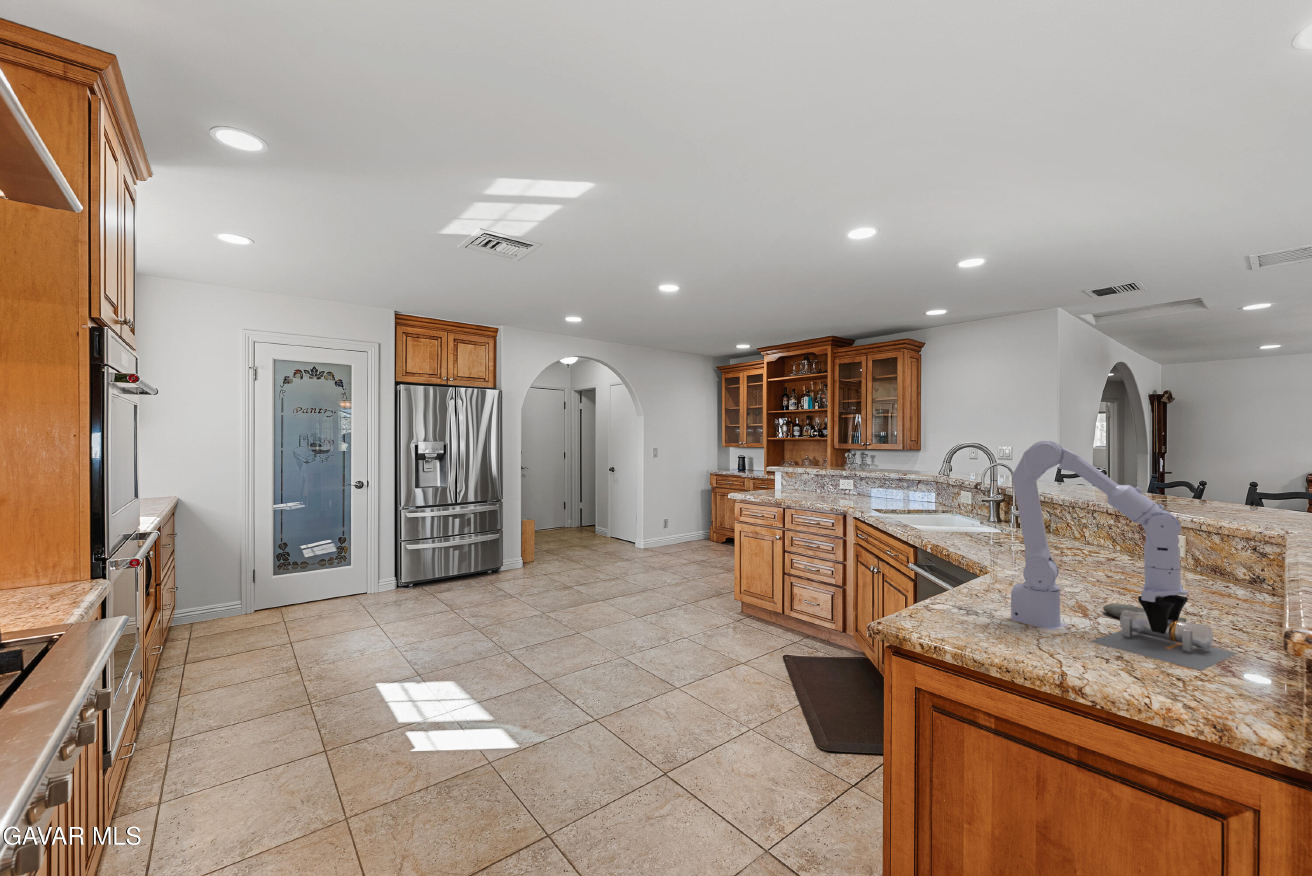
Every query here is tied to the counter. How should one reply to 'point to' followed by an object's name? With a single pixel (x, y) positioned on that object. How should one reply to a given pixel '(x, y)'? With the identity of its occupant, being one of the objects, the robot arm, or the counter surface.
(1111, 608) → the stone
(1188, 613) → the counter surface
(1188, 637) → the collar
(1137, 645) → the board
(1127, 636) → the collar
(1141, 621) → the tube
